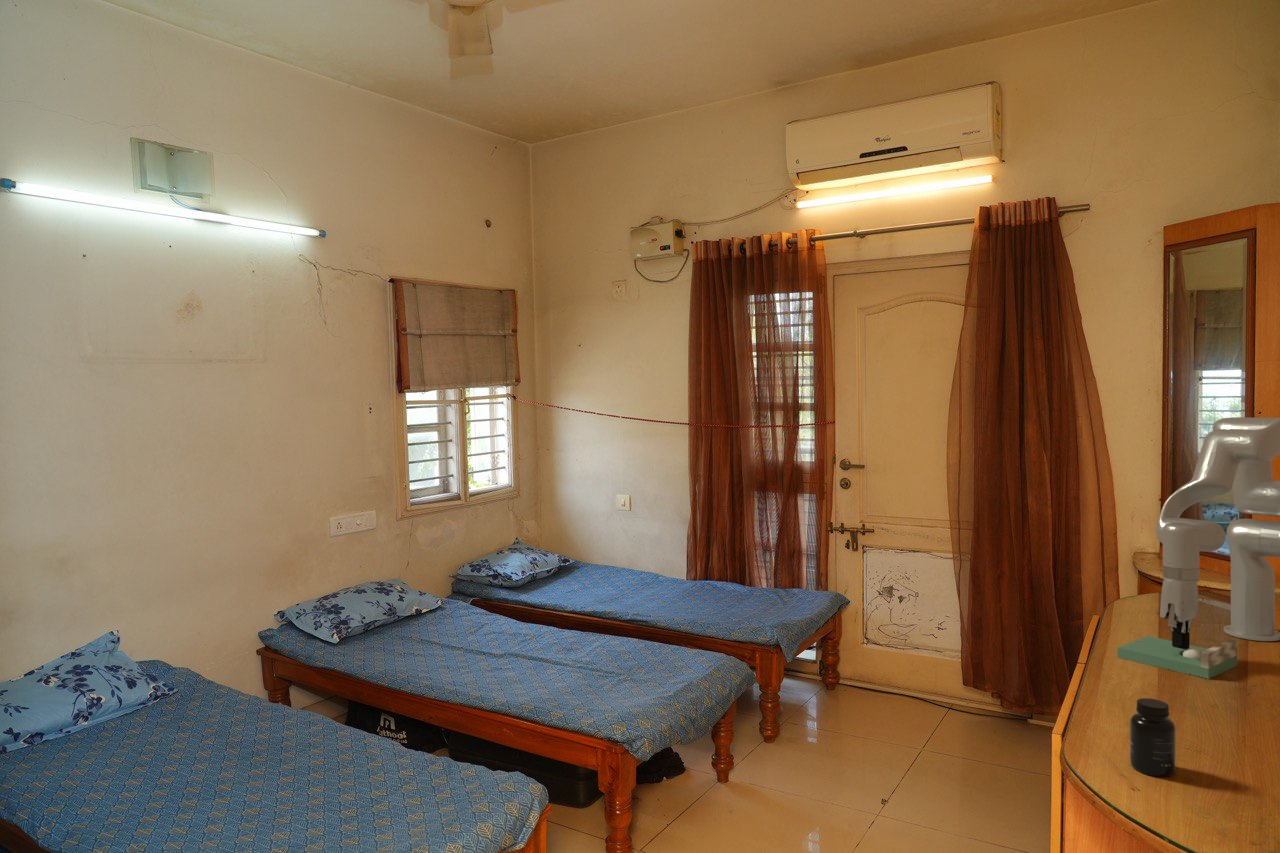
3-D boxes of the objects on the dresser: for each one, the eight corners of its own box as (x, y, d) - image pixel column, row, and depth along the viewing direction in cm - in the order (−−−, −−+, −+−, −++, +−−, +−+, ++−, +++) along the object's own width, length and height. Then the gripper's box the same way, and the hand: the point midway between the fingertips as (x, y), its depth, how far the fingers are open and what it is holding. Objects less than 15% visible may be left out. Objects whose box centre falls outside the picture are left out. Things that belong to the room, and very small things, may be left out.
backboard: (1230, 653, 196) (1230, 639, 196) (1237, 655, 195) (1237, 640, 195) (1201, 666, 187) (1201, 652, 187) (1208, 668, 186) (1208, 653, 186)
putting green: (1148, 645, 211) (1148, 635, 211) (1237, 665, 195) (1237, 655, 195) (1117, 657, 202) (1117, 647, 202) (1208, 679, 186) (1208, 668, 186)
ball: (1203, 665, 196) (1184, 658, 199) (1206, 650, 195) (1188, 643, 198) (1196, 670, 194) (1178, 662, 197) (1200, 655, 193) (1181, 647, 196)
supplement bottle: (1121, 761, 146) (1121, 696, 145) (1156, 759, 146) (1156, 694, 146) (1148, 779, 139) (1148, 711, 138) (1185, 777, 139) (1185, 708, 139)
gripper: (1177, 567, 204) (1177, 638, 205) (1149, 575, 196) (1149, 649, 197) (1211, 572, 198) (1211, 645, 199) (1184, 580, 190) (1184, 657, 190)
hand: (1180, 647), depth 198 cm, fingers closed
